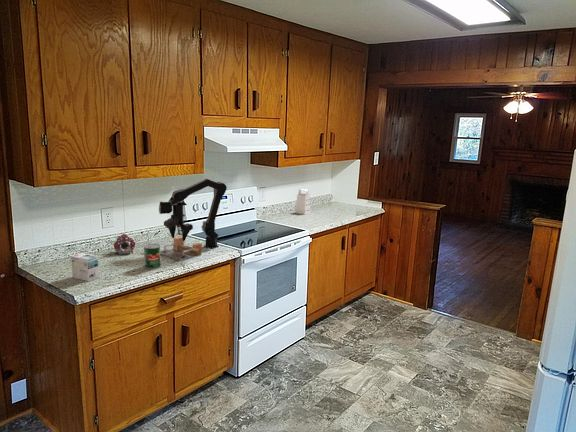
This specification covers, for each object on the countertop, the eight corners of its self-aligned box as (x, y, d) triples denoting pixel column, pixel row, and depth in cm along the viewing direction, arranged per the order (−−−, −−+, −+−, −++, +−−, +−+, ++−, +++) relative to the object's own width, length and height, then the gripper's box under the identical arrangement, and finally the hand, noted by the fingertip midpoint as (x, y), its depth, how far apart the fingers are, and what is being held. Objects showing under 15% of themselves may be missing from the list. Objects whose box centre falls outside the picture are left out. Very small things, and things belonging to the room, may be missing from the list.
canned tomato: (154, 263, 229) (153, 243, 227) (163, 266, 225) (163, 245, 222) (141, 266, 223) (140, 246, 220) (151, 270, 218) (150, 249, 216)
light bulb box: (100, 277, 206) (99, 255, 204) (88, 281, 200) (87, 259, 198) (83, 273, 210) (82, 252, 208) (71, 277, 204) (70, 255, 202)
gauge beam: (178, 247, 258) (178, 237, 257) (202, 254, 247) (202, 243, 246) (160, 252, 248) (160, 241, 247) (185, 259, 237) (185, 248, 235)
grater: (300, 210, 382) (301, 188, 378) (310, 212, 377) (312, 189, 373) (294, 212, 373) (295, 189, 369) (305, 214, 368) (306, 190, 364)
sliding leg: (180, 247, 257) (180, 236, 256) (183, 248, 256) (183, 237, 254) (162, 252, 247) (162, 240, 245) (166, 253, 245) (166, 241, 244)
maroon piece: (114, 252, 236) (112, 232, 240) (113, 260, 245) (112, 240, 249) (136, 251, 241) (134, 231, 245) (135, 258, 250) (133, 238, 254)
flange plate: (167, 250, 251) (167, 249, 251) (191, 258, 240) (191, 256, 240) (155, 253, 245) (155, 252, 245) (180, 261, 234) (180, 259, 234)
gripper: (155, 212, 249) (156, 239, 252) (178, 217, 238) (178, 245, 242) (171, 209, 258) (171, 235, 261) (193, 214, 247) (193, 241, 250)
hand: (178, 239), depth 253 cm, fingers open, 9 cm apart
